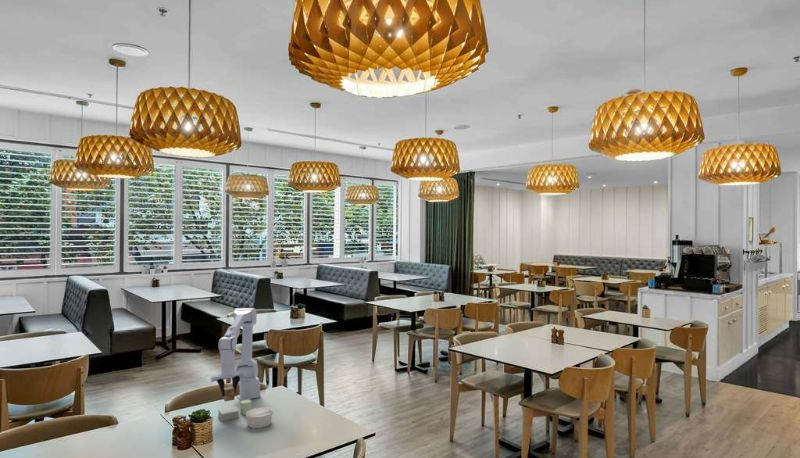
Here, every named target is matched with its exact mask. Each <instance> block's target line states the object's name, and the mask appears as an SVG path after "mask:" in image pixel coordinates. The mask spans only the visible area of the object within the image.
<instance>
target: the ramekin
mask: <svg viewBox="0 0 800 458" xmlns="http://www.w3.org/2000/svg"><path fill="white" fill-rule="evenodd" d="M273 412H274V411H273V409H272V408H271V407H267V406H265V407H264V406H262V407H261V406H260V407H259V406H258V407H255V408H252V409H251V410H249V411H247V412H246V414H245V418H246V422H247V426H248V427H249V428H251V429H262V428H265V427H268V426H269V425H270V424H271V423H272V420H273V419H272V418H273V417H272V416H273Z"/></svg>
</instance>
